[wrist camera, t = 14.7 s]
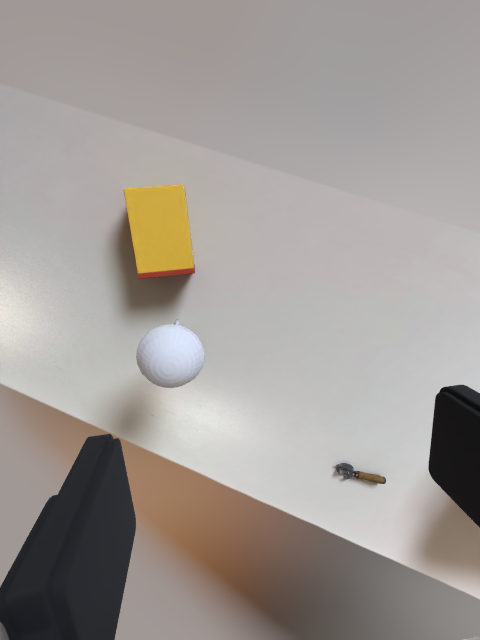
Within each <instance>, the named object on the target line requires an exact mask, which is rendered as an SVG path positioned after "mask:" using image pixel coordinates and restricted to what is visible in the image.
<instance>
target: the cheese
mask: <svg viewBox="0 0 480 640" xmlns="http://www.w3.org/2000/svg"><path fill="white" fill-rule="evenodd" d="M124 194H125V200H126V206H127V212H128V218H129V224H130V230H131V236H132V242H133V248H134V254H135V260H136V266H137V272H138V273H137V275H138V279H142V278H152V277H162V276H172V275H182V274H192V273H195V265H194V260H193V252H192V243H191V235H190V227H189V219H188V211H187V202H186V194H185V189H184V185H183V184H182V185H168V186H154V187H140V188H126V189H124Z"/></svg>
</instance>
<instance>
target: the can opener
mask: <svg viewBox="0 0 480 640" xmlns="http://www.w3.org/2000/svg"><path fill="white" fill-rule="evenodd" d="M336 466H339V467H343V468H346V470H344V469H342V468H338V469H337V472H338V473H339V474H348V477H344V478H345V479H350V478H351V477H352V476H354V477H356V478H359V479H365V480H368V481H371V482H375V483H380V484H385V483H386V479H385V477H382V476H379V475H375V474H368V473H363V472H359V471H354V470H353V467H352V466H351V465H349V464H346V463H342V464H338V465H336Z"/></svg>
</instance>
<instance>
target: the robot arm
mask: <svg viewBox="0 0 480 640" xmlns="http://www.w3.org/2000/svg"><path fill="white" fill-rule="evenodd" d="M429 472H430V475H431V477H432V478H433V480H434V481H435V482H436V483H437V484H438V485H439V486H440V487H441V488H442V489H443V490H444V491H445V492H446V493H447V494H448V495H449V496H450V497H451V498H452V500H453V501H454V502H455V503H456V504H457V505H458V506H459V507H460V508H461V509H462V510H463V511H464V512H465V513H466V514H467V515H468V516H469V517H470V518H471V519H472V520H473V521H474V522H475V523H476V524H477V525H478V526H479V527H480V393H478V392H476V391H474V390H473V389H471V388H469V387H467V386H465V385H456V386H449V387H443V388H442V389H441V390H440V392H439V393H438V394H437V395H436V399H435V409H434V418H433V428H432V438H431V448H430V457H429ZM135 530H136V518H135V512H134V507H133V503H132V497H131V492H130V487H129V482H128V477H127V472H126V467H125V462H124V457H123V452H122V447H121V442H120V440H119V439H118V438H117V439H113V437H112V435H111V434H107V435H100V436H92V437H88V438H87V439H86V441H85V443H84V445H83V447H82V449H81V451H80V453H79V455H78V457H77V459H76V460H75V462H74V464H73V466H72V468H71V470H70V472H69V474H68V476H67V478H66V480H65V482H64V484H63V485H62V487H61V490H60V491H59V493H58V495H54V496H52V497H51V498H49V500H48V501H47V503H46V504H45V506H44V508H43V510H42V512H41V513H40V516H39V517H38V519H37V521H36V523H35V524H34V526H33V528H32V530H31V532H30V534H29V536H28V537H27V539H26V541H25V543H24V545H23V546H22V548H21V550H20V552H19V554H18V556H17V558H16V559H15V561H14V563H13V565H12V567H11V569H10V571H9V572H8V574H7V576H6V578H5V580H4V582H3V583H2V585H1V587H0V640H114V639H115V634H116V628H117V623H118V618H119V613H120V608H121V603H122V598H123V593H124V587H125V582H126V577H127V572H128V567H129V562H130V557H131V551H132V546H133V541H134V536H135ZM463 640H480V636H476V637H472V638H467V639H463Z"/></svg>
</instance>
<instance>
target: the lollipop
mask: <svg viewBox="0 0 480 640" xmlns="http://www.w3.org/2000/svg"><path fill="white" fill-rule="evenodd" d="M204 357H205V356H204V349H203V346H202V344H201V342H200V340H199V339H198V338H197V336H196V335H195V334H194V333H193V332H192V331H190V330H189V329H187V328H185V327H183V326H180V325H179V320H176V321H175V324H167V325H162V326H159V327H157V328H155V329H153V330H151V331H150V332H148V333H147V334H146V335H145V336H144V337H143V338H142V339H141V341H140V343H139V345H138V348H137V356H136V358H137V364H138V367H139V369H140V371H141V372H142V374H143V375H144V376H145V377H146V378H147V379H148V380H149V381H151V382H152V383H153V384H156V385H158V386H161V387H166V388H174V387H179V386H182V385H184V384H186V383H188V382H190V381H191V380H193V379H194V378H195V377H196V376H197V375H198V374H199V372H200V371H201V369H202V366H203V363H204Z"/></svg>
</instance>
